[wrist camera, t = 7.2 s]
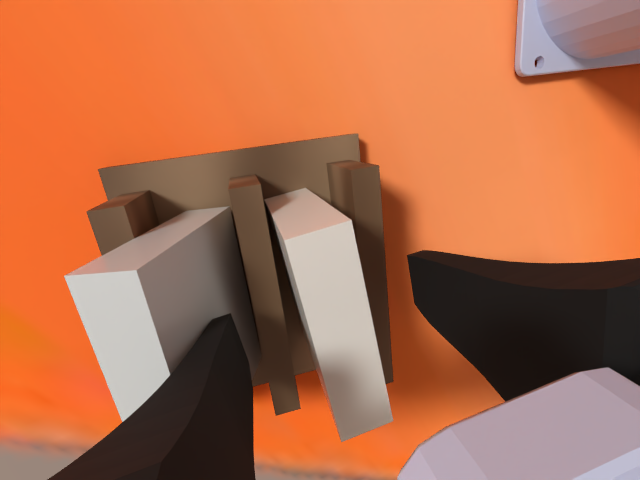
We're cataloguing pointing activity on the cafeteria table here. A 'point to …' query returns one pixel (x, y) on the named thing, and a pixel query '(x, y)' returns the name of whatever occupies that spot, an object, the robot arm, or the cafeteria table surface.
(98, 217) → the rack
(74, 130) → the cafeteria table surface
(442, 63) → the cafeteria table surface
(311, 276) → the white upright slab
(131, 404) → the racked plate
